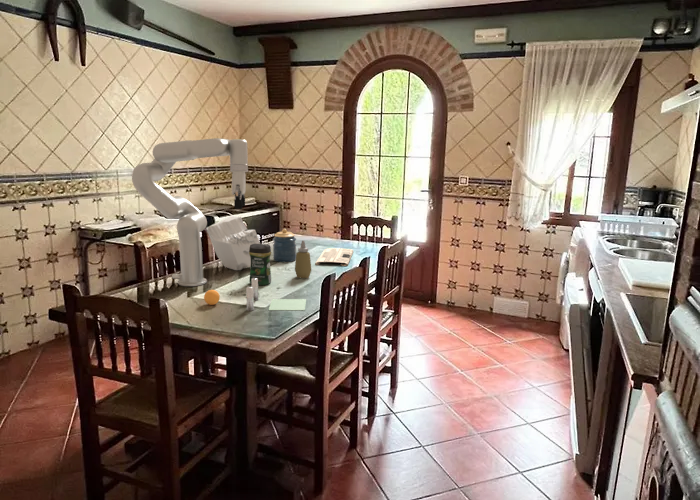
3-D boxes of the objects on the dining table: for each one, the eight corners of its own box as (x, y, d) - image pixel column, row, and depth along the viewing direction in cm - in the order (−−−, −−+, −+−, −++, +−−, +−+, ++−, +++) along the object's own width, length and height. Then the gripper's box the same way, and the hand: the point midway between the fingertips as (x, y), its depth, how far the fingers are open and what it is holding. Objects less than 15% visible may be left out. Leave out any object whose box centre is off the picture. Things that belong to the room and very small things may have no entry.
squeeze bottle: (311, 275, 248) (311, 239, 244) (311, 279, 240) (311, 242, 236) (295, 274, 248) (295, 239, 244) (294, 279, 240) (294, 242, 236)
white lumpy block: (268, 262, 260) (252, 219, 250) (243, 277, 251) (226, 232, 241) (246, 256, 275) (231, 215, 264) (222, 270, 265) (205, 228, 255)
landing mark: (268, 310, 193) (268, 309, 193) (272, 299, 207) (272, 299, 207) (304, 310, 194) (304, 309, 194) (306, 299, 208) (306, 299, 208)
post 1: (246, 310, 192) (245, 288, 190) (247, 308, 195) (246, 286, 193) (253, 310, 192) (252, 288, 190) (254, 308, 195) (253, 286, 193)
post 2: (251, 300, 205) (250, 279, 203) (252, 298, 208) (251, 277, 206) (257, 300, 205) (257, 279, 203) (258, 298, 208) (258, 277, 206)
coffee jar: (247, 284, 229) (246, 244, 225) (254, 280, 236) (253, 241, 232) (266, 286, 226) (266, 246, 223) (273, 282, 234) (273, 243, 230)
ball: (202, 306, 196) (202, 292, 195) (206, 302, 202) (205, 287, 201) (218, 306, 196) (217, 292, 195) (221, 302, 202) (220, 287, 201)
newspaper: (347, 267, 268) (347, 262, 268) (312, 265, 270) (312, 260, 269) (353, 253, 304) (353, 248, 304) (321, 252, 306) (321, 247, 305)
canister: (298, 257, 286) (298, 227, 283) (293, 262, 274) (293, 230, 270) (276, 256, 287) (275, 226, 284) (270, 261, 275) (269, 230, 271)
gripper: (233, 167, 226) (234, 205, 230) (227, 169, 210) (228, 209, 213) (250, 167, 227) (250, 205, 230) (245, 169, 210) (246, 210, 214)
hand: (239, 207), depth 222 cm, fingers open, 9 cm apart
